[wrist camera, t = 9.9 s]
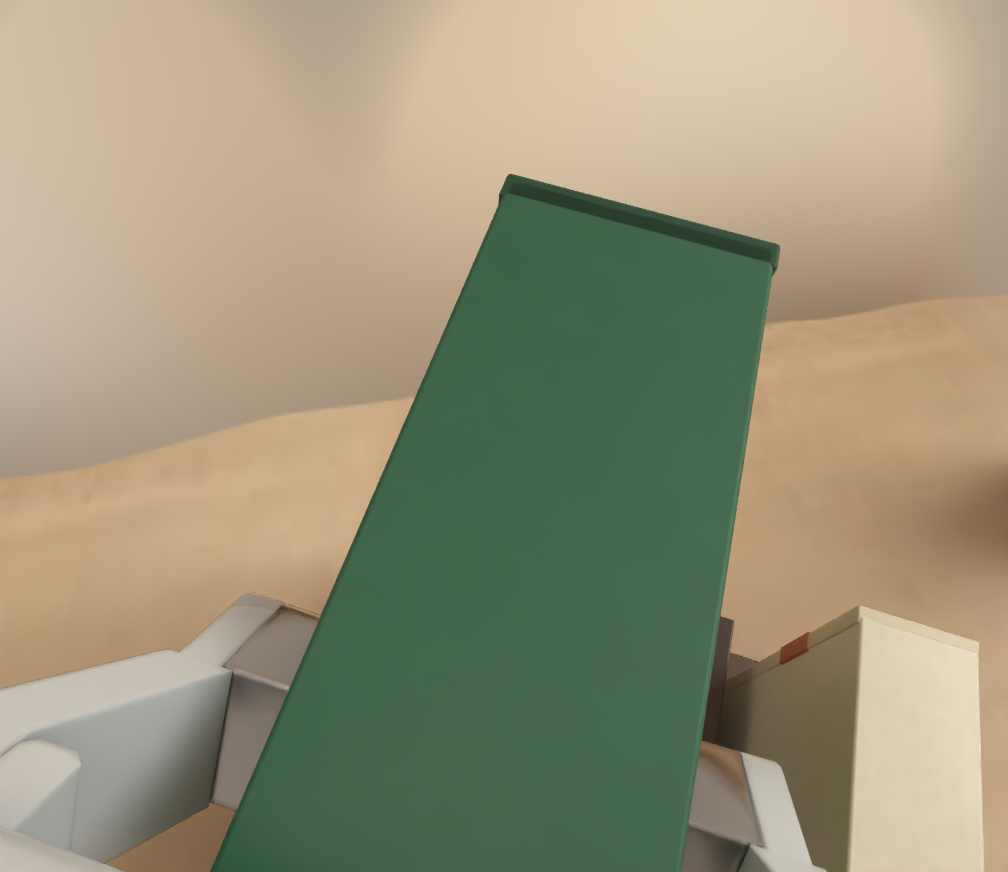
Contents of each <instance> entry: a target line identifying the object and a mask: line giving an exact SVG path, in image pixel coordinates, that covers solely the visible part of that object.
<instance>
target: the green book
mask: <svg viewBox="0 0 1008 872" xmlns="http://www.w3.org/2000/svg"><path fill="white" fill-rule="evenodd" d="M779 253H780V246H779V245H778V244H775V243H771V242H767V241H763V240H759V239H756V238H752V237H748V236H745V235H741V234H737V233H733V232H729V231H726V230H722V229H718V228H714V227H710V226H707V225H703V224H699V223H695V222H692V221H688V220H684V219H680V218H676V217H672V216H669V215H665V214H661V213H657V212H654V211H650V210H646V209H642V208H638V207H635V206H631V205H627V204H623V203H619V202H616V201H612V200H608V199H604V198H601V197H597V196H593V195H589V194H585V193H582V192H578V191H574V190H570V189H567V188H563V187H559V186H555V185H551V184H547V183H544V182H540V181H536V180H532V179H529V178H525V177H521V176H517V175H513V174H509V175H508V176H507V178H506V180H505V182H504V185H503V187H502V189H501V191H500V194H499V205H498V208H497V210H496V212H495V214H494V217H493V219H492V221H491V224H490V226H489V228H488V231H487V233H486V235H485V238H484V240H483V242H482V245H481V247H480V249H479V252H478V254H477V256H476V258H475V261H474V263H473V265H472V268H471V270H470V272H469V275H468V277H467V279H466V282H465V284H464V286H463V288H462V291H461V293H460V296H459V298H458V300H457V302H456V305H455V307H454V309H453V311H452V314H451V316H450V318H449V321H448V323H447V325H446V328H445V330H444V332H443V335H442V337H441V339H440V342H439V344H438V346H437V349H436V351H435V353H434V355H433V358H432V360H431V362H430V365H429V367H428V369H427V372H426V374H425V376H424V378H423V381H422V383H421V385H420V388H419V390H418V393H417V395H416V397H415V399H414V402H413V404H412V406H411V408H410V411H409V413H408V415H407V418H406V420H405V422H404V425H403V427H402V429H401V432H400V434H399V436H398V438H397V441H396V443H395V445H394V448H393V450H392V452H391V455H390V457H389V459H388V462H387V464H386V466H385V469H384V471H383V473H382V475H381V478H380V480H379V482H378V485H377V487H376V489H375V492H374V494H373V496H372V499H371V501H370V503H369V505H368V508H367V510H366V512H365V515H364V517H363V519H362V522H361V524H360V526H359V529H358V531H357V533H356V536H355V538H354V540H353V542H352V545H351V547H350V549H349V552H348V554H347V556H346V559H345V561H344V563H343V566H342V568H341V570H340V572H339V575H338V577H337V579H336V582H335V584H334V586H333V589H332V591H331V593H330V596H329V598H328V600H327V603H326V605H325V607H324V609H323V612H322V614H321V616H320V619H319V621H318V623H317V626H316V628H315V630H314V633H313V635H312V637H311V639H310V642H309V644H308V646H307V649H306V651H305V653H304V656H303V658H302V660H301V663H300V665H299V667H298V669H297V672H296V674H295V676H294V679H293V681H292V683H291V686H290V688H289V690H288V693H287V695H286V697H285V700H284V702H283V704H282V706H281V709H280V711H279V713H278V716H277V718H276V720H275V723H274V725H273V727H272V730H271V732H270V734H269V736H268V739H267V741H266V743H265V746H264V748H263V750H262V753H261V755H260V757H259V760H258V762H257V764H256V767H255V769H254V771H253V773H252V776H251V778H250V780H249V783H248V785H247V787H246V790H245V792H244V794H243V797H242V799H241V801H240V803H239V806H238V808H237V810H236V813H235V815H234V817H233V820H232V822H231V824H230V827H229V829H228V831H227V833H226V836H225V838H224V840H223V843H222V845H221V847H220V850H219V852H218V854H217V857H216V859H215V861H214V864H213V866H212V868H211V870H210V872H681V871H682V864H683V858H684V851H685V844H686V838H687V831H688V825H689V818H690V812H691V805H692V799H693V792H694V785H695V779H696V772H697V766H698V759H699V753H700V746H701V739H702V733H703V726H704V720H705V713H706V707H707V700H708V693H709V687H710V680H711V674H712V667H713V661H714V654H715V647H716V641H717V634H718V628H719V621H720V615H721V608H722V601H723V595H724V588H725V582H726V575H727V569H728V562H729V556H730V549H731V542H732V536H733V529H734V523H735V516H736V510H737V503H738V496H739V490H740V483H741V477H742V470H743V464H744V457H745V450H746V444H747V437H748V431H749V424H750V418H751V411H752V404H753V398H754V391H755V385H756V378H757V372H758V365H759V358H760V352H761V345H762V339H763V332H764V326H765V319H766V312H767V306H768V299H769V292H770V286H771V280H772V277H773V275H774V273H775V271H776V270H777V267H778V260H779Z"/></svg>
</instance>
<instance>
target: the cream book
mask: <svg viewBox="0 0 1008 872" xmlns="http://www.w3.org/2000/svg"><path fill="white" fill-rule="evenodd" d="M978 660H979V642H977V641H975V640H971V639H968V638H965V637H962V636H958V635H955V634H952V633H948V632H945V631H942V630H939V629H935V628H932V627H929V626H926V625H922V624H919V623H916V622H913V621H909V620H906V619H903V618H899V617H896V616H893V615H890V614H886V613H883V612H880V611H877V610H873V609H870V608H867V607H864V606H857V607H855V608H853V609H851V610H850V611H848V612H846V613H844V614H843V615H841V616H839V617H837V618H836V619H834V620H832V621H830V622H829V623H827V624H825V625H823V626H822V627H820V628H818V629H816V630H815V631H813V632H811V633H809V632H807V633H806V634H804V635H802V636H801V637H799V638H797V639H795V640H794V641H792V642H790V643H788V644H787V645H785V646H783V647H781V650H779V651H778V652H776V653H774V654H772V655H771V656H769V657H767V658H765V659H764V660H762V661H760V662H758V663H757V664H755V665H753V666H751V667H750V668H748V669H746V670H744V671H743V672H741V673H739V674H737V675H736V676H734V677H732V678H730V679H729V680H727V681H726V683H725V690H724V697H723V704H722V711H721V718H720V725H719V732H718V739H717V745H718V746H722V747H725V748H728V749H732V750H735V751H736V750H737V751H740V752H744V753H747V754H751V755H754V756H758V757H761V758H765V759H768V760H772V761H775V762H776V763H777V764H778V765H779V766H780V767H781V768H782V771H783V774H784V777H785V780H786V784H787V787H788V790H789V793H790V796H791V799H792V802H793V806H794V809H795V812H796V815H797V818H798V821H799V824H800V828H801V831H802V834H803V837H804V840H805V843H806V846H807V850H808V853H809V856H810V859H811V862H812V865H814V866H816V867H819V868H822V869H825V870H826V871H827V872H984V847H983V811H982V775H981V740H980V704H979V668H978Z"/></svg>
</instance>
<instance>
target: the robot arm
mask: <svg viewBox="0 0 1008 872" xmlns="http://www.w3.org/2000/svg"><path fill="white" fill-rule="evenodd" d="M320 616H321V615H318V614H315V613H312V612H309V611H306V610H303V609H300V608H298V607H295V606H292V605H289V604H287V605H286V604H285V603H284V602H281V601H278V600H275V599H271V598H268V597H265V596H262V595H259V594H255V593H246V594H244V595H243V596H242V597H241V598H239V599H238V600H237V601H236V602H235V603H234V604H233V605H232V606H230V607H229V608H228V609H227V610H226V611H225V612H224V613H223V614H221V615H220V616H219V617H218V618H217V619H216V620H215V621H213V622H212V623H211V624H210V625H209V626H208V627H207V628H206V629H204V630H203V631H202V632H201V633H200V634H199V635H198V636H197V637H195V638H194V639H193V640H192V641H191V642H190V643H189V644H188V645H186V646H185V647H184V648H183V649H182V650H181V651H180V652H176V651H173V650H170V649H165V650H161V651H156V652H152V653H148V654H144V655H140V656H136V657H131V658H127V659H123V660H119V661H115V662H110V663H106V664H102V665H98V666H94V667H89V668H85V669H81V670H77V671H73V672H69V673H64V674H60V675H56V676H52V677H48V678H43V679H39V680H35V681H31V682H27V683H22V684H18V685H14V686H10V687H6V688H1V689H0V872H125V871H122V870H119V869H117V868H114V867H111V866H109V865H106V863H108V862H109V861H111V860H113V859H115V858H117V857H118V856H120V855H122V854H124V853H126V852H127V851H129V850H131V849H133V848H135V847H137V846H138V845H140V844H142V843H144V842H146V841H147V840H149V839H151V838H153V837H155V836H156V835H158V834H160V833H162V832H164V831H165V830H167V829H169V828H171V827H173V826H175V825H176V824H178V823H180V822H182V821H184V820H185V819H187V818H189V817H191V816H193V815H194V814H196V813H198V812H200V811H202V810H203V809H205V808H207V807H208V806H209V803H213V804H216V805H219V806H222V807H225V808H228V809H231V810H235V811H236V810H237V808H238V806H239V803H240V801H241V799H242V797H243V794H244V792H245V790H246V787H247V785H248V783H249V780H250V778H251V776H252V773H253V771H254V769H255V767H256V764H257V762H258V760H259V757H260V755H261V753H262V750H263V748H264V746H265V743H266V741H267V739H268V736H269V734H270V732H271V730H272V727H273V725H274V723H275V720H276V718H277V716H278V713H279V711H280V709H281V706H282V704H283V702H284V700H285V697H286V695H287V693H288V690H289V688H290V686H291V683H292V681H293V679H294V676H295V674H296V672H297V669H298V667H299V665H300V663H301V660H302V658H303V656H304V653H305V651H306V649H307V646H308V644H309V642H310V639H311V637H312V635H313V633H314V630H315V628H316V626H317V623H318V621H319V619H320ZM681 872H827V871H826V870H825V869H822V868H819V867H816V866H814V865H812V862H811V859H810V856H809V853H808V850H807V846H806V843H805V840H804V837H803V834H802V831H801V828H800V824H799V821H798V818H797V815H796V812H795V809H794V806H793V802H792V799H791V796H790V793H789V790H788V787H787V784H786V780H785V777H784V774H783V771H782V768H781V767H780V766H779V765H778V764H777V763H776V762H775V761H772V760H768V759H765V758H761V757H758V756H754V755H751V754H747V753H744V752H740V751H737V750H736V751H735V750H732V749H728V748H725V747H722V746H718V745H715V744H712V743H708V742H705V741H702V740H701V746H700V753H699V759H698V766H697V772H696V779H695V785H694V792H693V799H692V805H691V812H690V818H689V825H688V831H687V838H686V844H685V851H684V858H683V864H682V871H681Z"/></svg>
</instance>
